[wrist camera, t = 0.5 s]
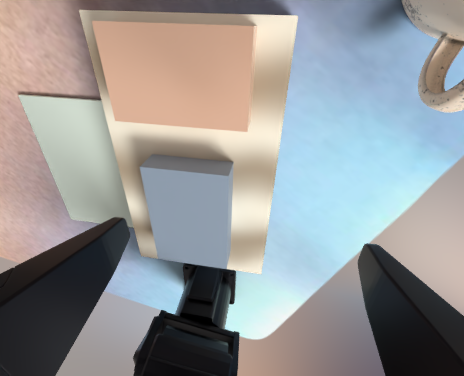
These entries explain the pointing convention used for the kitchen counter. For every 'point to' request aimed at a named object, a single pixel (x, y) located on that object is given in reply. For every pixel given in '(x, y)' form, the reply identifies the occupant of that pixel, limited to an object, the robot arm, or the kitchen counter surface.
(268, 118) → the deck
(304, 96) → the kitchen counter surface
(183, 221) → the grey-blue rectangular block
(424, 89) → the teacup with lid
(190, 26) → the terracotta tile
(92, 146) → the mat
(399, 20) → the kitchen counter surface
